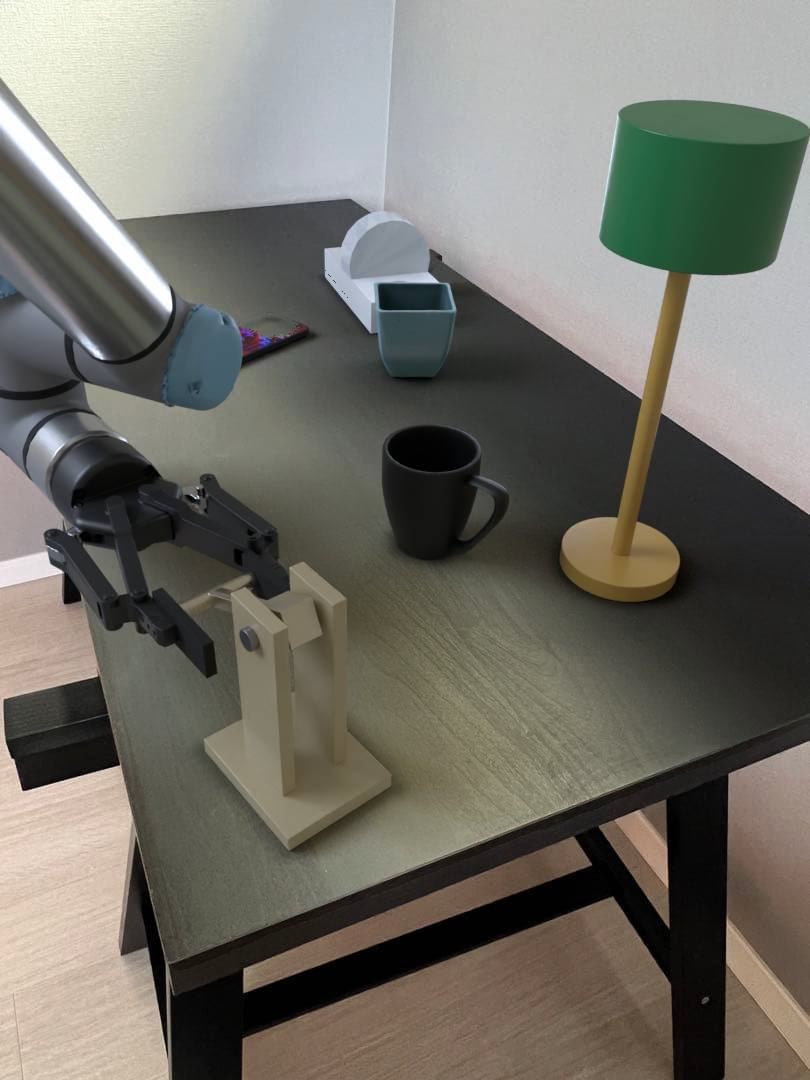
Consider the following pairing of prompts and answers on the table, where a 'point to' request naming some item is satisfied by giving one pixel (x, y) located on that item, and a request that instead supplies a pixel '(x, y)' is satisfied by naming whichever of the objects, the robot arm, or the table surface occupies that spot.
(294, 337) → the smartphone
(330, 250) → the tape dispenser
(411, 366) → the flower pot
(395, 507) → the mug
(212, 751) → the beige wooden upright stand
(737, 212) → the lamp
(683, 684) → the table surface
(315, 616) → the switch
